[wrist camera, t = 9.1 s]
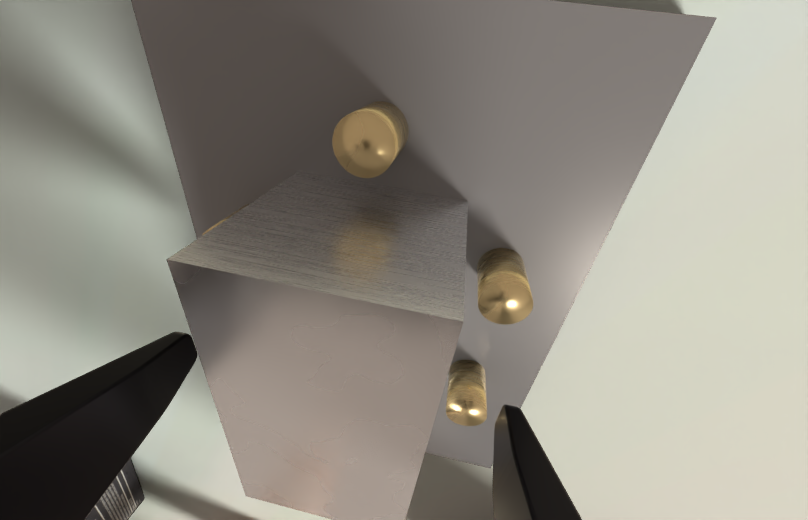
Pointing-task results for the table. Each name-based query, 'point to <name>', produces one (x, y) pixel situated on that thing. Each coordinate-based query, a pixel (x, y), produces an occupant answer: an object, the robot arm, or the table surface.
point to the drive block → (328, 338)
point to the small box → (119, 497)
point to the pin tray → (434, 140)
